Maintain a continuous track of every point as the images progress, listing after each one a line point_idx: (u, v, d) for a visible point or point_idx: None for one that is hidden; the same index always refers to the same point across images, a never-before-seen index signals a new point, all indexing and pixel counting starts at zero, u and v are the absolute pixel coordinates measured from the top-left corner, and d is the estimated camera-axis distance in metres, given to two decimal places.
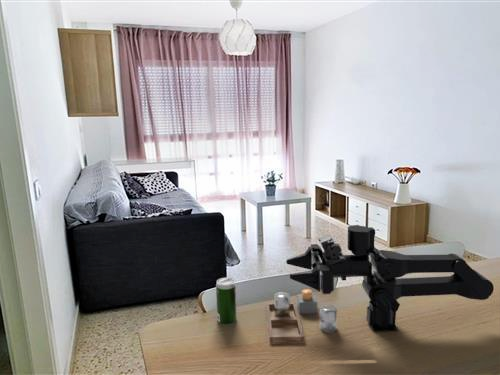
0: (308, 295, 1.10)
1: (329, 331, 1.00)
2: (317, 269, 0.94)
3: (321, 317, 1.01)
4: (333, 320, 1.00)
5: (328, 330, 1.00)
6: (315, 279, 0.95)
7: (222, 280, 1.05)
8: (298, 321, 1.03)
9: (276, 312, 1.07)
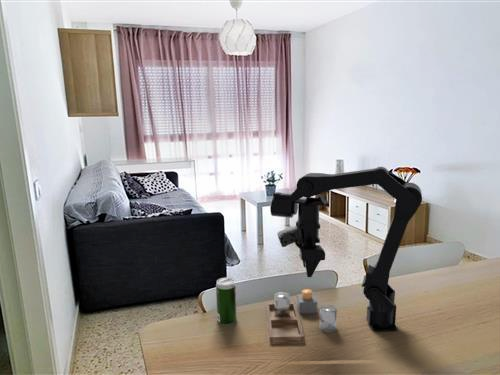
0: (308, 295, 1.10)
1: (329, 331, 1.00)
2: None
3: (321, 317, 1.01)
4: (333, 320, 1.00)
5: (328, 330, 1.00)
6: None
7: (222, 280, 1.05)
8: (298, 321, 1.03)
9: (276, 312, 1.07)
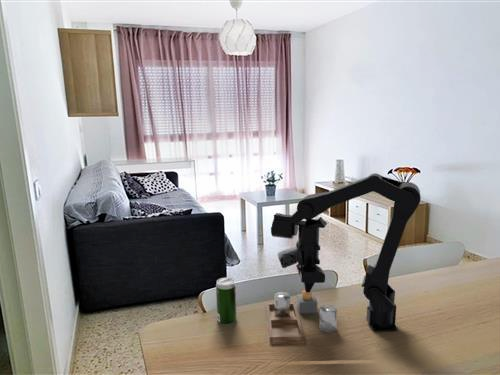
0: (308, 295, 1.10)
1: (329, 331, 1.00)
2: None
3: (321, 317, 1.01)
4: (333, 320, 1.00)
5: (328, 330, 1.00)
6: None
7: (222, 280, 1.05)
8: (298, 321, 1.03)
9: (276, 312, 1.07)
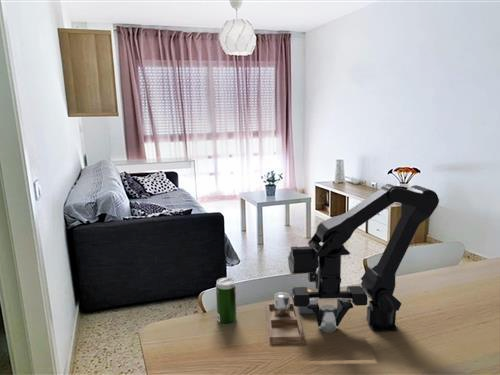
0: None
1: (329, 331, 1.00)
2: None
3: (321, 317, 1.01)
4: (333, 320, 1.00)
5: (328, 330, 1.00)
6: None
7: (222, 280, 1.05)
8: (298, 321, 1.03)
9: (276, 312, 1.07)
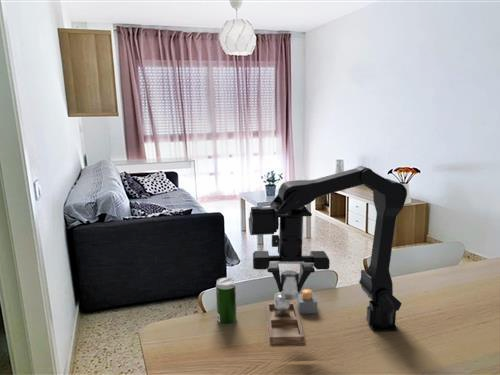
0: (308, 295, 1.10)
1: (290, 296, 0.96)
2: None
3: (282, 282, 0.97)
4: (295, 284, 0.96)
5: (289, 295, 0.96)
6: None
7: (222, 280, 1.05)
8: (298, 321, 1.03)
9: (276, 312, 1.07)
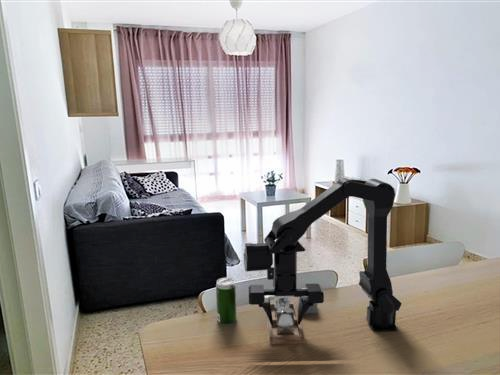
0: None
1: (285, 333, 0.98)
2: None
3: (278, 319, 0.99)
4: (290, 322, 0.98)
5: (284, 333, 0.98)
6: None
7: (222, 280, 1.05)
8: None
9: (276, 312, 1.07)
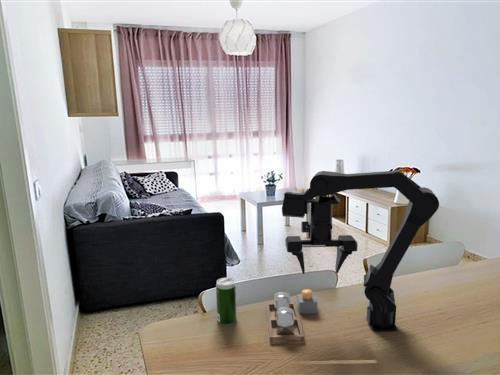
0: (308, 295, 1.10)
1: (285, 333, 0.98)
2: None
3: (277, 319, 0.99)
4: (290, 322, 0.98)
5: (284, 333, 0.98)
6: None
7: (222, 280, 1.05)
8: (298, 321, 1.03)
9: (276, 312, 1.07)
